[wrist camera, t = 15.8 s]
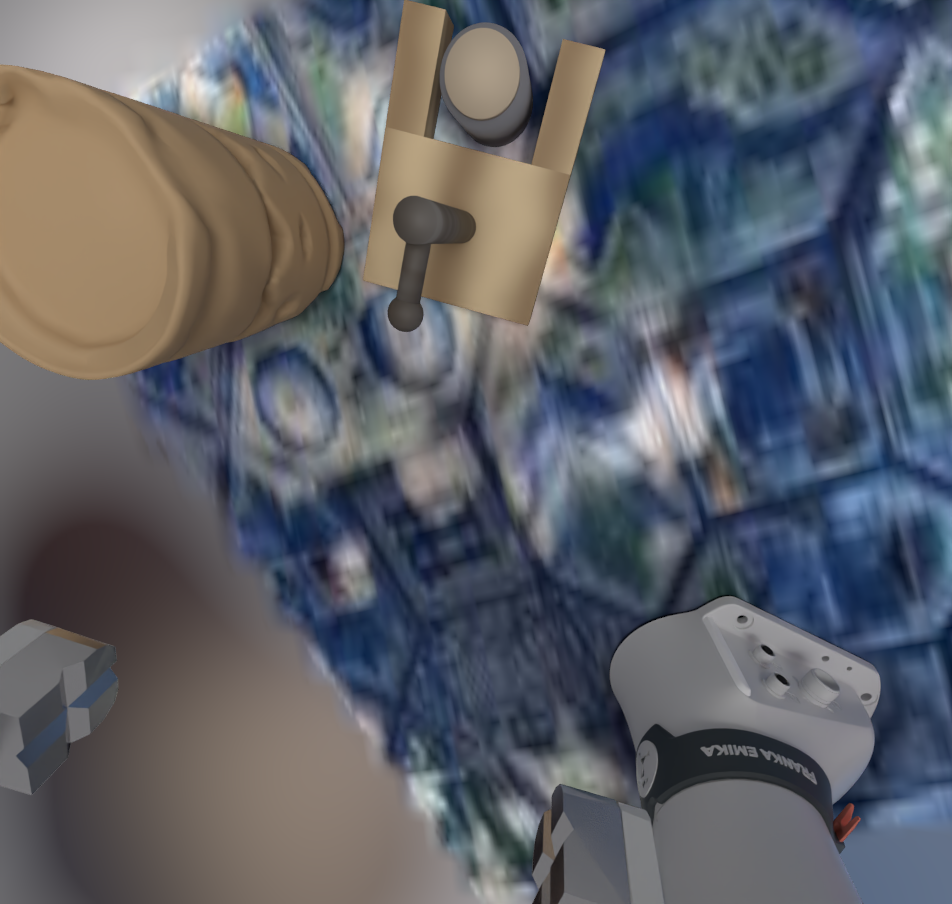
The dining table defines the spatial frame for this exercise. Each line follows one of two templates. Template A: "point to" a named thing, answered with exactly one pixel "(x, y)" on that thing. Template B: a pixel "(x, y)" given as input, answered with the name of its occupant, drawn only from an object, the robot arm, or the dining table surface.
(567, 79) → the wooden hook stand
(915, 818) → the dining table surface
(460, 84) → the grey cylinder peg
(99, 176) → the container
